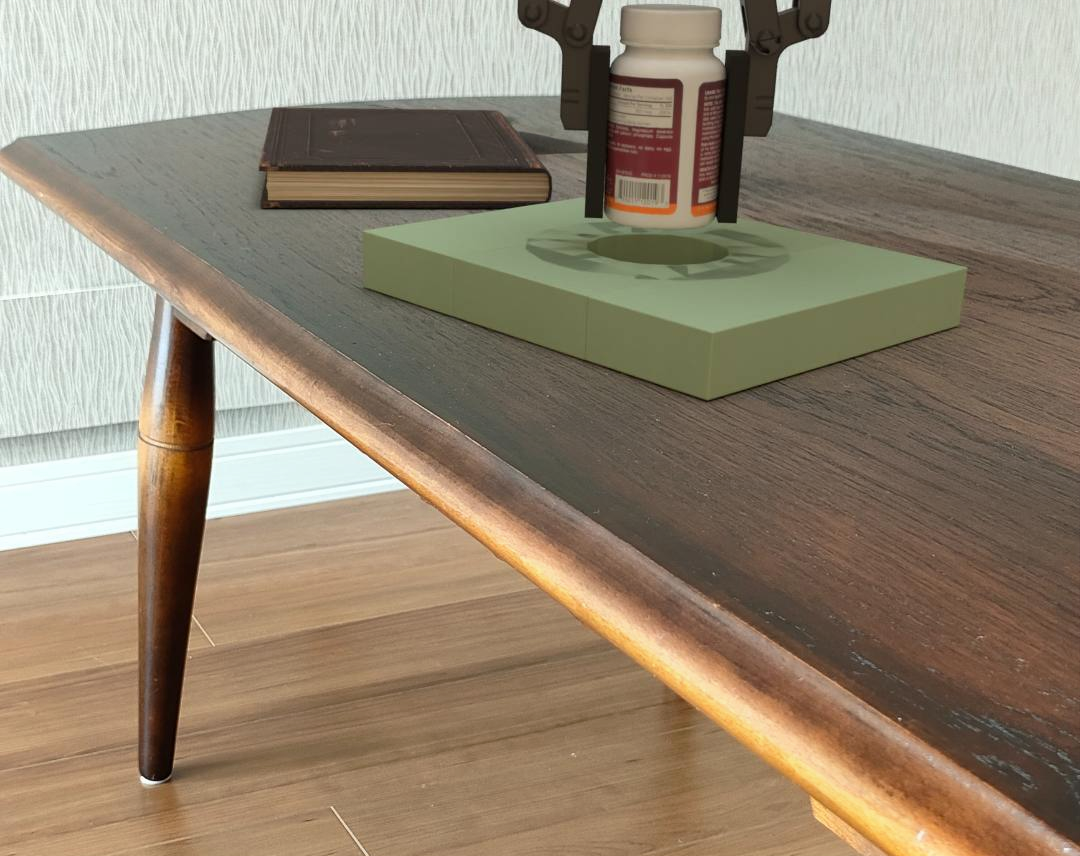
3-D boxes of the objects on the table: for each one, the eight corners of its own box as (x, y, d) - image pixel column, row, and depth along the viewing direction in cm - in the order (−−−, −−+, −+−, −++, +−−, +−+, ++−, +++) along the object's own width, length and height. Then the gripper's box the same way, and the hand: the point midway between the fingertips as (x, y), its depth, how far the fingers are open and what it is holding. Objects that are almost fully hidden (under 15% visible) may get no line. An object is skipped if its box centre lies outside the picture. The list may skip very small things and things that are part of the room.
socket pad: (959, 326, 60) (968, 267, 59) (707, 401, 50) (712, 331, 49) (617, 241, 74) (619, 191, 73) (363, 287, 64) (362, 230, 63)
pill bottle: (683, 206, 63) (698, 2, 60) (735, 228, 59) (754, 11, 56) (584, 211, 62) (593, 1, 58) (630, 234, 58) (642, 11, 54)
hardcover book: (260, 207, 79) (258, 164, 78) (274, 141, 99) (272, 107, 99) (551, 208, 81) (553, 166, 80) (505, 144, 102) (505, 110, 101)
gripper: (438, -483, 48) (437, 224, 57) (980, -468, 47) (889, 241, 57) (458, -435, 55) (454, 189, 64) (932, -422, 54) (858, 204, 64)
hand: (659, 212), depth 60 cm, fingers closed on pill bottle, 5 cm apart
